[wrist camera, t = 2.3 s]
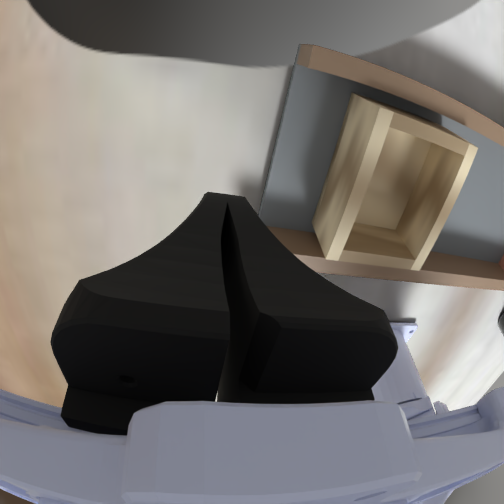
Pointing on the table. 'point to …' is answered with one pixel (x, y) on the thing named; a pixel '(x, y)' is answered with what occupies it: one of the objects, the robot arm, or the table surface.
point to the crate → (389, 186)
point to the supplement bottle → (501, 323)
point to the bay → (322, 149)
